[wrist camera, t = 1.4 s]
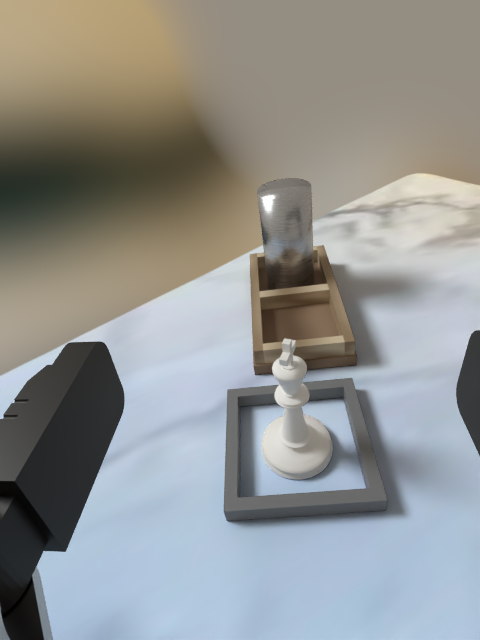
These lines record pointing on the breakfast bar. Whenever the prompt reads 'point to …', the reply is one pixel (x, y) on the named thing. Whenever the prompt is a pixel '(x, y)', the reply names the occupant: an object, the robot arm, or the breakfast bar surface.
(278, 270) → the steel peg
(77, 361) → the robot arm
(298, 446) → the chess piece
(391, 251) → the breakfast bar surface
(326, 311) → the wooden divided tray
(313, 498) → the frame
